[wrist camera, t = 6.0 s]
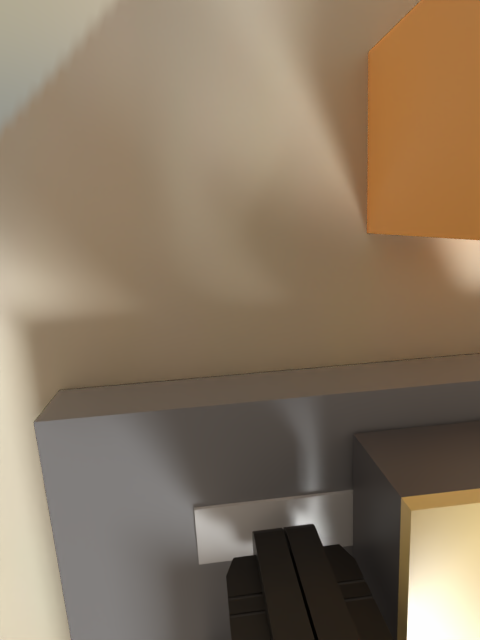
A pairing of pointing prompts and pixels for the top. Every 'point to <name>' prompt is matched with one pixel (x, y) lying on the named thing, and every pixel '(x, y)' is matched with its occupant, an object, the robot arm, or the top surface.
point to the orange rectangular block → (426, 124)
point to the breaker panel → (214, 479)
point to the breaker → (420, 528)
